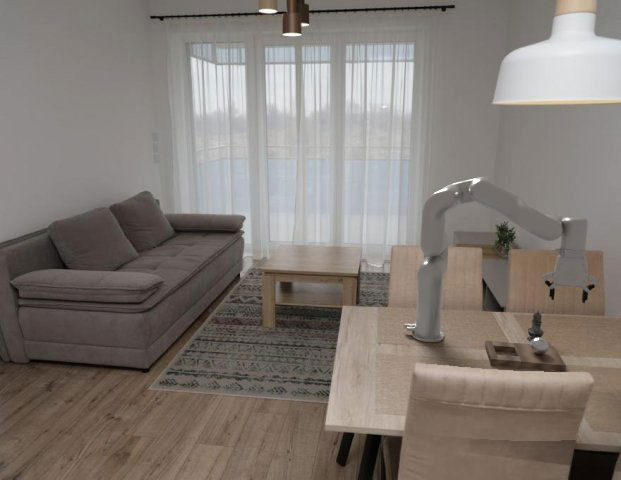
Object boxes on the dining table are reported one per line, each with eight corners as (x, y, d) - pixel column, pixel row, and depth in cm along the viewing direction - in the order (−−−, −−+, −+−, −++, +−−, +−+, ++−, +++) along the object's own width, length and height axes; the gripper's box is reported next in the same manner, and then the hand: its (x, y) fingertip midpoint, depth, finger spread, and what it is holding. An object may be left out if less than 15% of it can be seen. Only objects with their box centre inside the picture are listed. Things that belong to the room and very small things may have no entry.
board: (490, 365, 171) (491, 358, 170) (484, 346, 185) (485, 340, 184) (565, 372, 166) (565, 365, 165) (553, 352, 180) (553, 346, 180)
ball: (531, 356, 172) (533, 340, 170) (527, 349, 177) (529, 333, 176) (549, 358, 170) (551, 342, 169) (545, 350, 176) (547, 335, 175)
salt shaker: (544, 343, 188) (548, 314, 185) (528, 342, 189) (531, 312, 186) (540, 337, 193) (544, 308, 190) (525, 335, 194) (528, 307, 192)
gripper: (544, 253, 167) (540, 301, 171) (603, 257, 160) (597, 306, 164) (543, 248, 174) (540, 294, 178) (599, 252, 167) (594, 299, 171)
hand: (567, 300), depth 171 cm, fingers open, 9 cm apart
